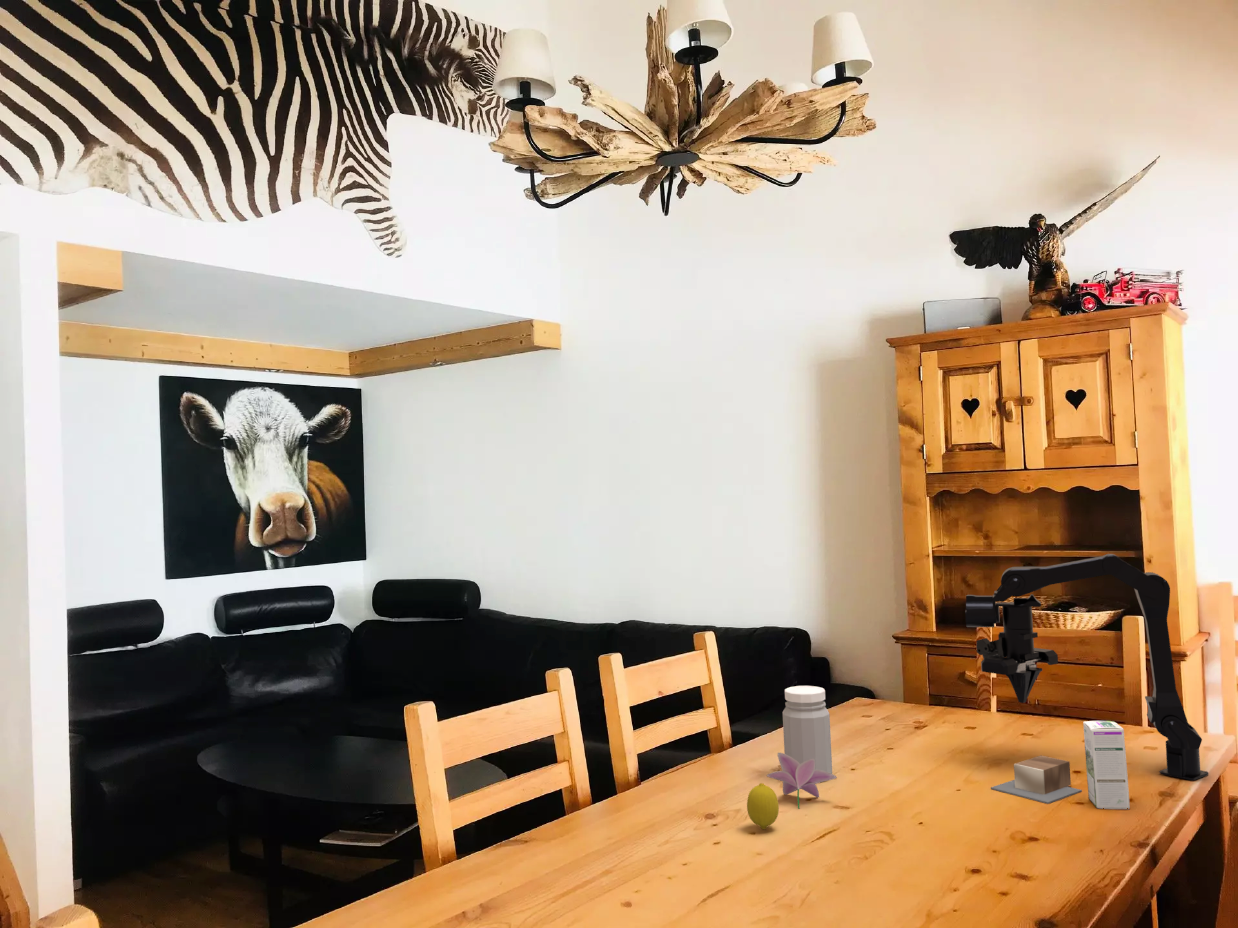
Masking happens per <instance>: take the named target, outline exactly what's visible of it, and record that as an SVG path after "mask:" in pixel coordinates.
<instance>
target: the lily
mask: <svg viewBox="0 0 1238 928" xmlns="http://www.w3.org/2000/svg"><path fill="white" fill-rule="evenodd" d="M777 759H778V763H779V765H780V767H781V770H779V771H773V772H770V773H768V774H766V777H769V778H771V779H774V780H777V781H781V782H782V793H783V795H785V796H786V795H789V794H790V795H791V794H792V793H794V792H797V794H796V795H797V810H799V809H800V790H803V791H804V792H806V793H808V794H809V795H811V796H814V797H815V798H818V797H819V798H820V793H819V789H818V786H817V785H816V784H819V783H823V782H826V781H831V780H835V779H837V775H835V774H834V773H832V774H831V773H829V772H826V771H822V770H815V760H814V759H810V760H807V761H805V762H803V763H801V764H800V763H799V762H798V761H797V760H795V759H794V758H792V757H790V756H788V755H786V754H785V753H784V752H777Z"/></svg>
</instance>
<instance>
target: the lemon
mask: <svg viewBox="0 0 1238 928" xmlns="http://www.w3.org/2000/svg"><path fill="white" fill-rule="evenodd" d="M779 809H780V805H779V800H778V797H777V793H776V792H775V790H774V789H772V787H770V786H769V785H766V784H764V783H763V782H760V783H759V784H758V785H756V786H754V787H752V789H751V790H750V791H749V794H748V795H747V801H746V810H747V814H748V817H749V818H750V820H751V822H753V823H754V824H755V825H756V826H759V827H760V829H761V830H766V829H767V828H768V827H770V826H771V825H772V824H774V822H776V820H777V818H778V815H779V811H780V810H779Z"/></svg>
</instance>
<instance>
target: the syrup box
mask: <svg viewBox="0 0 1238 928" xmlns="http://www.w3.org/2000/svg"><path fill="white" fill-rule="evenodd" d="M1082 725H1083V737H1084V753H1085V765H1086V769H1085V770H1086V779H1087V781H1086V783H1087V794H1088V800H1090V801H1091V803H1092V804H1093V805H1094V807H1096V809H1103V808H1104V809H1103V810H1130V807H1131V806H1130V805H1131V804H1130V791H1129V776H1128V765H1127V754H1126V753H1127V752H1126V743H1125V742H1126V741H1125V731H1124V728H1123V727H1122V726H1121V725H1119V724H1118V723H1117V722H1115V721H1114V720H1112V721H1111V720H1089V721H1088V720H1087V721H1086V720H1085V721H1083V724H1082ZM1127 808H1128V809H1127Z"/></svg>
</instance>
